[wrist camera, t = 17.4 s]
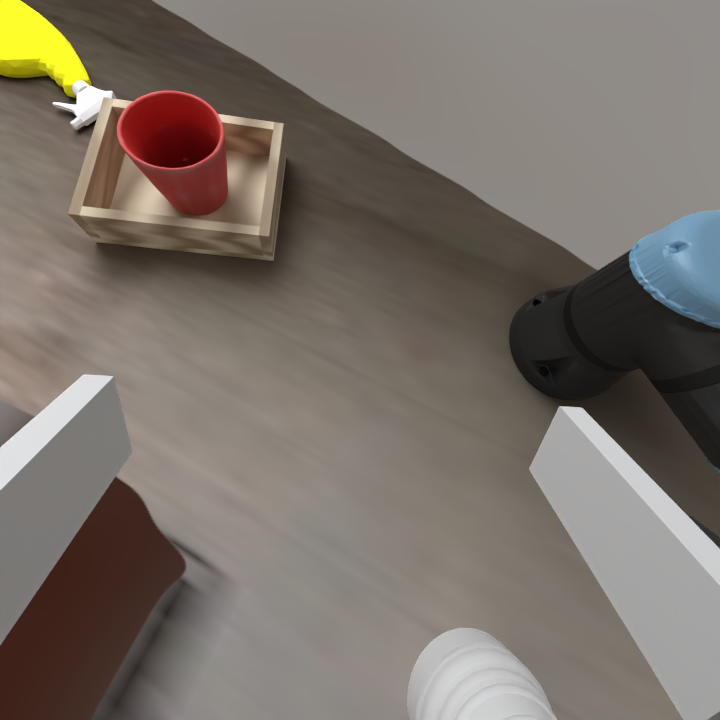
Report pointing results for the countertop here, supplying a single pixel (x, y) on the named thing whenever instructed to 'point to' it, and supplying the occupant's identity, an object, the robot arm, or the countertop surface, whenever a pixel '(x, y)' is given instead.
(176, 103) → the flower pot
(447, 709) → the honey pot
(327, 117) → the countertop surface
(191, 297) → the countertop surface
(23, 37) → the spray bottle
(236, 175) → the pine crate
